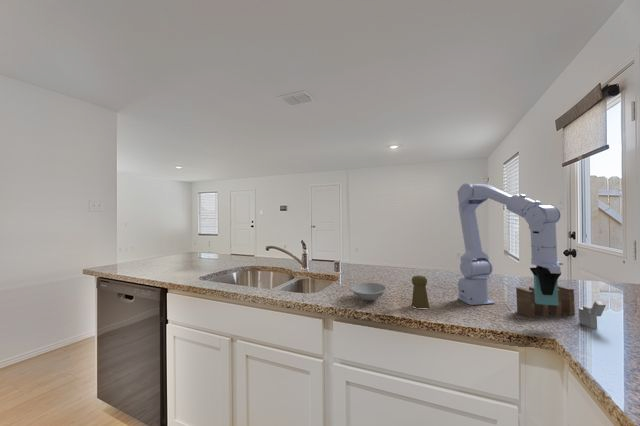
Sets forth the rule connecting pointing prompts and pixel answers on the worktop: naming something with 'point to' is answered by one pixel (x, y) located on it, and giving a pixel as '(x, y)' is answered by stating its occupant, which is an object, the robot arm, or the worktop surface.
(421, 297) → the olive upright piece
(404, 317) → the worktop surface
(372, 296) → the dish
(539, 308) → the walnut domino
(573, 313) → the walnut domino
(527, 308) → the walnut domino
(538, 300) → the teal domino
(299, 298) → the worktop surface
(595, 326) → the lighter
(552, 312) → the walnut domino
